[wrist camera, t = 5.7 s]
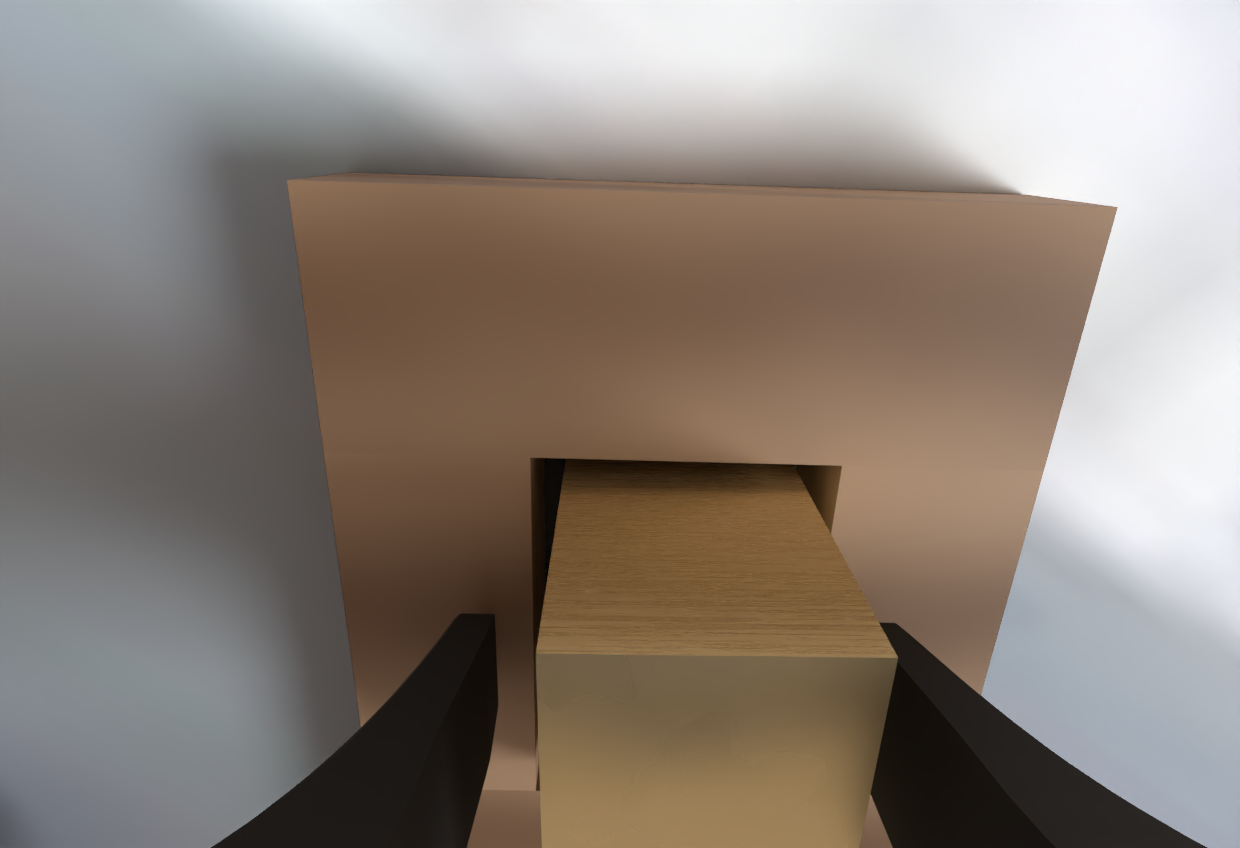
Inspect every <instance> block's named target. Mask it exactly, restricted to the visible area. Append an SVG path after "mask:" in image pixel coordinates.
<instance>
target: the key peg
mask: <svg viewBox="0 0 1240 848" xmlns="http://www.w3.org/2000/svg"><path fill="white" fill-rule="evenodd" d="M897 661H898V657H897V655H896V653H895V651H894V649H893V647H892V646H891V644H890V642H889V640H888V638H887V636H886V634H885V633H884V631H883V629H882V627H881V625H880V623H879V622H878V620H877V618H876V616H875V614H874V612H873V611H872V609H871V607H870V605H869V603H868V601H867V600H866V598H865V596H864V594H863V592H862V590H861V588H860V587H859V585H858V583H857V581H856V579H855V577H854V576H853V574H852V572H851V570H850V568H849V566H848V565H847V563H846V561H845V559H844V557H843V555H842V554H841V552H840V550H839V548H838V546H837V544H836V543H835V541H834V539H833V537H832V535H831V533H830V531H829V530H828V528H827V526H826V524H825V522H824V520H823V519H822V517H821V515H820V513H819V511H818V509H817V508H816V506H815V504H814V502H813V500H812V498H811V497H810V495H809V493H808V491H807V489H806V487H805V485H804V484H803V482H802V480H801V478H800V476H799V474H798V473H797V471H796V469H795V467H794V465H793V464H757V463H719V462H680V461H642V460H603V459H566V462H565V469H564V475H563V482H562V488H561V494H560V501H559V507H558V514H557V520H556V527H555V533H554V539H553V546H552V552H551V559H550V565H549V572H548V578H547V584H546V591H545V597H544V604H543V610H542V616H541V623H540V629H539V636H538V642H537V649H536V679H537V710H538V742H539V774H540V805H541V837H542V848H859V847H860V842H861V837H862V832H863V827H864V823H865V818H866V813H867V808H868V803H869V798H870V793H871V788H872V783H873V779H874V774H875V769H876V764H877V759H878V754H879V749H880V744H881V739H882V735H883V730H884V725H885V720H886V715H887V710H888V705H889V700H890V695H891V690H892V686H893V681H894V676H895V671H896V666H897Z"/></svg>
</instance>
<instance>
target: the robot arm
mask: <svg viewBox="0 0 1240 848" xmlns="http://www.w3.org/2000/svg"><path fill="white" fill-rule="evenodd" d="M879 623H880V622H879ZM880 625H881V627H882V629H883V631H884V633H885V634H886V636H887V638H888V640H889V642H890V644H891V646H892V647H893V649H894V651H895V653H896V655H897V657H898V661H897V666H896V671H895V676H894V681H893V686H892V690H891V695H890V700H889V705H888V710H887V715H886V720H885V725H884V730H883V735H882V739H881V744H880V749H879V754H878V759H877V764H876V769H875V774H874V779H873V783H872V788H871V793H870V794H871V796H872V799H873V801H874V804H875V806H876V808H877V811H878V813H879V816H880V818H881V821H882V823H883V825H884V828H885V830H886V833H887V835H888V837H889V840H890V842H891V845H892V847H893V848H1207V847H1205V846H1203V845H1201V844H1199V843H1197V842H1196V841H1194V840H1192V839H1190V838H1188V837H1187V836H1185V835H1183V834H1181V833H1180V832H1178V831H1176V830H1174V829H1173V828H1171V827H1169V826H1168V825H1166V824H1164V823H1163V822H1161V821H1159V820H1157V819H1156V818H1154V817H1152V816H1151V815H1149V814H1147V813H1145V812H1144V811H1142V810H1140V809H1139V808H1137V807H1135V806H1134V805H1132V804H1131V803H1129V802H1127V801H1126V800H1124V799H1122V798H1121V797H1119V796H1118V795H1116V794H1114V793H1113V792H1111V791H1110V790H1108V789H1107V788H1105V787H1104V786H1102V785H1101V784H1099V783H1098V782H1096V781H1095V780H1093V779H1092V778H1090V777H1089V776H1087V775H1086V774H1084V773H1083V772H1081V771H1080V770H1078V769H1077V768H1075V767H1074V766H1072V765H1071V764H1069V763H1068V762H1067V761H1065V760H1064V759H1062V758H1061V757H1060V756H1058V755H1057V754H1055V753H1054V752H1052V751H1051V750H1050V749H1048V748H1047V747H1046V746H1044V745H1043V744H1042V743H1040V742H1039V741H1038V740H1036V739H1035V738H1034V737H1032V736H1031V735H1030V734H1029V733H1027V732H1026V731H1025V730H1023V729H1022V728H1021V727H1019V726H1018V725H1017V724H1015V723H1014V722H1013V721H1012V720H1010V719H1009V718H1008V717H1007V716H1005V715H1004V714H1003V713H1002V712H1000V711H999V710H998V709H997V708H995V707H994V706H993V705H992V704H990V703H989V702H988V701H987V700H986V699H984V698H983V697H982V696H981V695H980V694H978V693H977V692H976V691H975V690H974V689H972V688H971V687H970V686H969V685H968V684H966V683H965V682H964V681H963V680H962V679H961V678H959V677H958V676H957V675H956V674H955V673H954V672H952V671H951V670H950V669H949V668H948V667H947V666H946V665H944V664H943V663H942V662H941V661H940V660H939V659H938V658H936V657H935V656H934V655H933V654H932V653H931V652H929V651H928V650H927V649H926V648H925V647H924V646H923V645H921V644H920V643H919V642H918V641H917V640H916V639H915V638H913V637H912V636H911V635H910V634H909V633H907V632H906V631H905V630H904V629H903V628H901V627H900V626H899V625H898V624H896V623H880ZM497 711H498V680H497V655H496V631H495V614H471V613H460V614H459V615H458V616H457V617H456V618H455V619H454V620H453V621H452V623H451V624H450V625H449V627H448V628H447V629H446V631H445V632H444V633H443V635H442V636H441V637H440V639H439V640H438V641H437V642H436V644H435V645H434V646H433V648H432V649H431V650H430V651H429V652H428V654H427V655H426V656H425V657H424V659H423V660H422V661H421V662H420V664H419V665H418V666H417V667H416V668H415V669H414V671H413V672H412V673H411V674H410V675H409V676H408V677H407V679H406V680H405V681H404V682H403V683H402V684H401V686H400V687H399V688H398V689H397V690H396V691H395V692H394V694H393V695H392V696H391V697H390V698H389V699H388V700H387V701H386V702H385V703H384V704H383V705H382V706H381V707H380V708H379V709H378V710H377V712H376V713H375V714H374V715H373V716H372V717H371V718H370V719H369V720H368V721H367V722H366V723H365V724H364V725H363V726H362V727H361V728H360V729H359V730H358V731H357V732H356V733H355V734H354V735H353V736H352V737H351V738H350V739H349V740H348V741H347V742H346V743H345V744H344V745H343V746H341V747H340V748H339V749H338V750H337V751H336V752H335V753H334V754H333V755H332V756H331V757H329V758H328V759H327V760H326V761H325V762H324V763H323V764H321V765H320V766H319V767H318V768H317V769H316V770H315V771H313V772H312V773H311V774H310V775H309V776H308V777H306V778H305V779H304V780H303V781H301V782H300V783H299V784H298V785H296V786H295V787H294V788H293V789H291V790H290V791H289V792H288V793H286V794H285V795H284V796H283V797H281V798H280V799H279V800H277V801H276V802H275V803H274V804H272V805H271V806H270V807H268V808H267V809H266V810H264V811H263V812H262V813H260V814H259V815H258V816H257V817H255V818H254V819H252V820H251V821H250V822H248V823H247V824H245V825H244V826H242V827H241V828H240V829H238V830H237V831H235V832H234V833H232V834H231V835H229V836H228V837H226V838H225V839H224V840H222V841H221V842H219V843H218V844H216V845H214V846H213V847H211V848H467V845H468V841H469V838H470V834H471V830H472V826H473V823H474V819H475V815H476V812H477V808H478V804H479V800H480V797H481V793H482V789H483V785H484V781H485V778H486V774H487V770H488V766H489V762H490V757H491V751H492V745H493V738H494V732H495V725H496V718H497Z"/></svg>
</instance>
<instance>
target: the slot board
mask: <svg viewBox="0 0 1240 848" xmlns="http://www.w3.org/2000/svg"><path fill="white" fill-rule="evenodd" d="M287 186H288V193H289V201H290V208H291V215H292V223H293V230H294V238H295V245H296V252H297V260H298V267H299V275H300V282H301V289H302V297H303V304H304V311H305V319H306V326H307V334H308V341H309V348H310V356H311V363H312V371H313V378H314V385H315V393H316V400H317V408H318V415H319V422H320V430H321V437H322V444H323V452H324V459H325V467H326V474H327V481H328V489H329V496H330V504H331V511H332V518H333V526H334V533H335V541H336V548H337V555H338V563H339V570H340V577H341V585H342V592H343V600H344V607H345V614H346V622H347V629H348V637H349V644H350V651H351V659H352V666H353V674H354V681H355V688H356V696H357V703H358V710H359V718H360V725H361V727H362V726H363V725H364V724H365V723H366V722H367V721H368V720H369V719H370V718H371V717H372V716H373V715H374V714H375V713H376V712H377V710H378V709H379V708H380V707H381V706H382V705H383V704H384V703H385V702H386V701H387V700H388V699H389V698H390V697H391V696H392V695H393V694H394V692H395V691H396V690H397V689H398V688H399V687H400V686H401V684H402V683H403V682H404V681H405V680H406V679H407V677H408V676H409V675H410V674H411V673H412V672H413V671H414V669H415V668H416V667H417V666H418V665H419V664H420V662H421V661H422V660H423V659H424V657H425V656H426V655H427V654H428V652H429V651H430V650H431V649H432V648H433V646H434V645H435V644H436V642H437V641H438V640H439V639H440V637H441V636H442V635H443V633H444V632H445V631H446V629H447V628H448V627H449V625H450V624H451V623H452V621H453V620H454V619H455V618H456V617H457V616H458V615H459V614H460V613H471V614H495V631H496V655H497V680H498V711H497V718H496V725H495V732H494V738H493V745H492V751H491V757H490V762H489V766H488V770H487V774H486V778H485V781H484V785H483V789H482V793H481V797H480V800H479V804H478V808H477V812H476V815H475V819H474V823H473V826H472V830H471V834H470V838H469V841H468V845H467V848H542V837H541V805H540V774H539V742H538V710H537V679H536V649H537V642H538V636H539V629H540V623H541V616H542V610H543V604H544V597H545V591H546V560H545V458H565V459H603V460H642V461H680V462H719V463H757V464H796V465H798V467H797V473H798V474H799V476H800V478H801V480H802V482H803V484H804V485H805V487H806V489H807V491H808V493H809V495H810V497H811V498H812V500H813V502H814V504H815V506H816V508H817V509H818V511H819V513H820V515H821V517H822V519H823V520H824V522H825V524H826V526H827V528H828V530H829V531H830V533H831V535H832V537H833V539H834V541H835V543H836V544H837V546H838V548H839V550H840V552H841V554H842V555H843V557H844V559H845V561H846V563H847V565H848V566H849V568H850V570H851V572H852V574H853V576H854V577H855V579H856V581H857V583H858V585H859V587H860V588H861V590H862V592H863V594H864V596H865V598H866V600H867V601H868V603H869V605H870V607H871V609H872V611H873V612H874V614H875V616H876V618H877V620H878V622H880V623H896V624H898V625H899V626H900V627H901V628H903V629H904V630H905V631H906V632H907V633H909V634H910V635H911V636H912V637H913V638H915V639H916V640H917V641H918V642H919V643H920V644H921V645H923V646H924V647H925V648H926V649H927V650H928V651H929V652H931V653H932V654H933V655H934V656H935V657H936V658H938V659H939V660H940V661H941V662H942V663H943V664H944V665H946V666H947V667H948V668H949V669H950V670H951V671H952V672H954V673H955V674H956V675H957V676H958V677H959V678H961V679H962V680H963V681H964V682H965V683H966V684H968V685H969V686H970V687H971V688H972V689H974V690H975V691H976V692H977V693H978V694H980V695H981V692H982V689H983V685H984V681H985V678H986V674H987V671H988V667H989V664H990V660H991V656H992V653H993V649H994V646H995V642H996V639H997V635H998V631H999V628H1000V624H1001V621H1002V617H1003V614H1004V610H1005V607H1006V603H1007V599H1008V596H1009V592H1010V589H1011V585H1012V582H1013V578H1014V574H1015V571H1016V567H1017V564H1018V560H1019V557H1020V553H1021V549H1022V546H1023V542H1024V539H1025V535H1026V532H1027V528H1028V525H1029V521H1030V517H1031V514H1032V510H1033V507H1034V503H1035V500H1036V496H1037V492H1038V489H1039V485H1040V482H1041V478H1042V475H1043V471H1044V467H1045V464H1046V460H1047V457H1048V453H1049V450H1050V446H1051V442H1052V439H1053V435H1054V432H1055V428H1056V425H1057V421H1058V418H1059V414H1060V410H1061V407H1062V403H1063V400H1064V396H1065V393H1066V389H1067V385H1068V382H1069V378H1070V375H1071V371H1072V368H1073V364H1074V360H1075V357H1076V353H1077V350H1078V346H1079V343H1080V339H1081V335H1082V332H1083V328H1084V325H1085V321H1086V318H1087V314H1088V311H1089V307H1090V303H1091V300H1092V296H1093V293H1094V289H1095V286H1096V282H1097V278H1098V275H1099V271H1100V268H1101V264H1102V261H1103V257H1104V253H1105V250H1106V246H1107V243H1108V239H1109V236H1110V232H1111V228H1112V225H1113V221H1114V218H1115V214H1116V211H1117V207H1112V206H1104V205H1097V204H1090V203H1082V202H1075V201H1068V200H1060V199H1053V198H1046V197H1038V196H1031V195H1017V194H987V193H957V192H926V191H896V190H866V189H835V188H805V187H775V186H744V185H714V184H684V183H653V182H623V181H593V180H562V179H532V178H502V177H471V176H441V175H411V174H381V173H350V172H347V173H339V174H331V175H323V176H315V177H307V178H299V179H291V180H287ZM859 848H893V847H892V845H891V842H890V840H889V837H888V835H887V833H886V830H885V828H884V825H883V823H882V821H881V818H880V816H879V813H878V811H877V808H876V806H875V804H874V801H873V799H872V796H871V794H870V798H869V803H868V808H867V813H866V818H865V823H864V827H863V832H862V837H861V842H860V847H859Z"/></svg>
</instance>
